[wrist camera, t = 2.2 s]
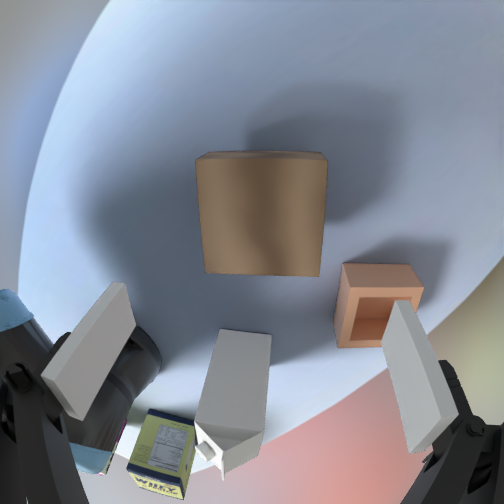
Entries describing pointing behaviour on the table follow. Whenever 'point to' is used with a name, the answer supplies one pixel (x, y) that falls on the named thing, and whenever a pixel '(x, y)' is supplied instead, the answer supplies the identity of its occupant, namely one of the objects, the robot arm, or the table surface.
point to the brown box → (262, 211)
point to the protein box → (164, 454)
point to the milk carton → (234, 399)
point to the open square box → (371, 301)
